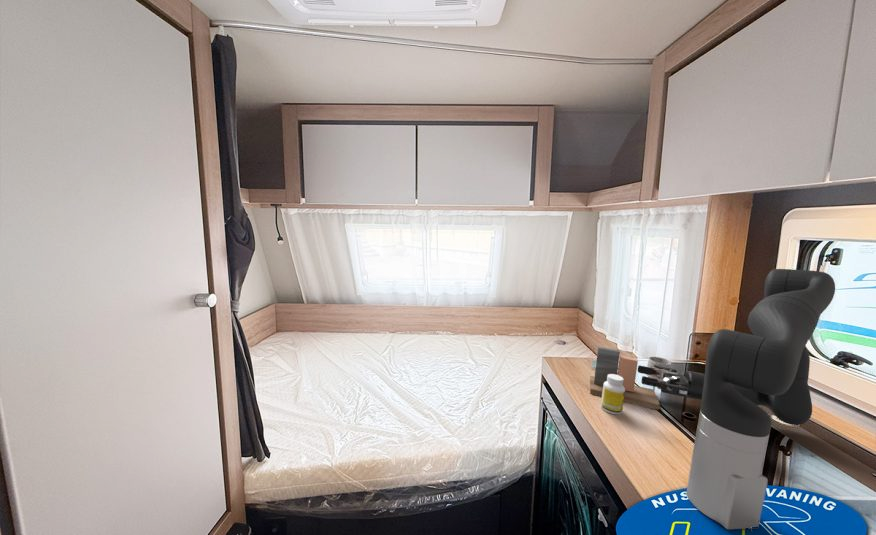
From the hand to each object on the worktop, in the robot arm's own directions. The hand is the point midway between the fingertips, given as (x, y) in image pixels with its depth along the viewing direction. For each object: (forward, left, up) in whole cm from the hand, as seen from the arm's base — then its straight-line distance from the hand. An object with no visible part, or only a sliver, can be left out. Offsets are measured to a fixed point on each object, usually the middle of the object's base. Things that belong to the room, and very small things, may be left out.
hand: (639, 374), depth 97 cm
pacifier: (+18, 0, -8) cm, 20 cm away
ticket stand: (+2, +3, -8) cm, 8 cm away
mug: (+14, -18, -8) cm, 24 cm away
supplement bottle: (-7, +13, -8) cm, 16 cm away
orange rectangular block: (+2, +3, -6) cm, 7 cm away
